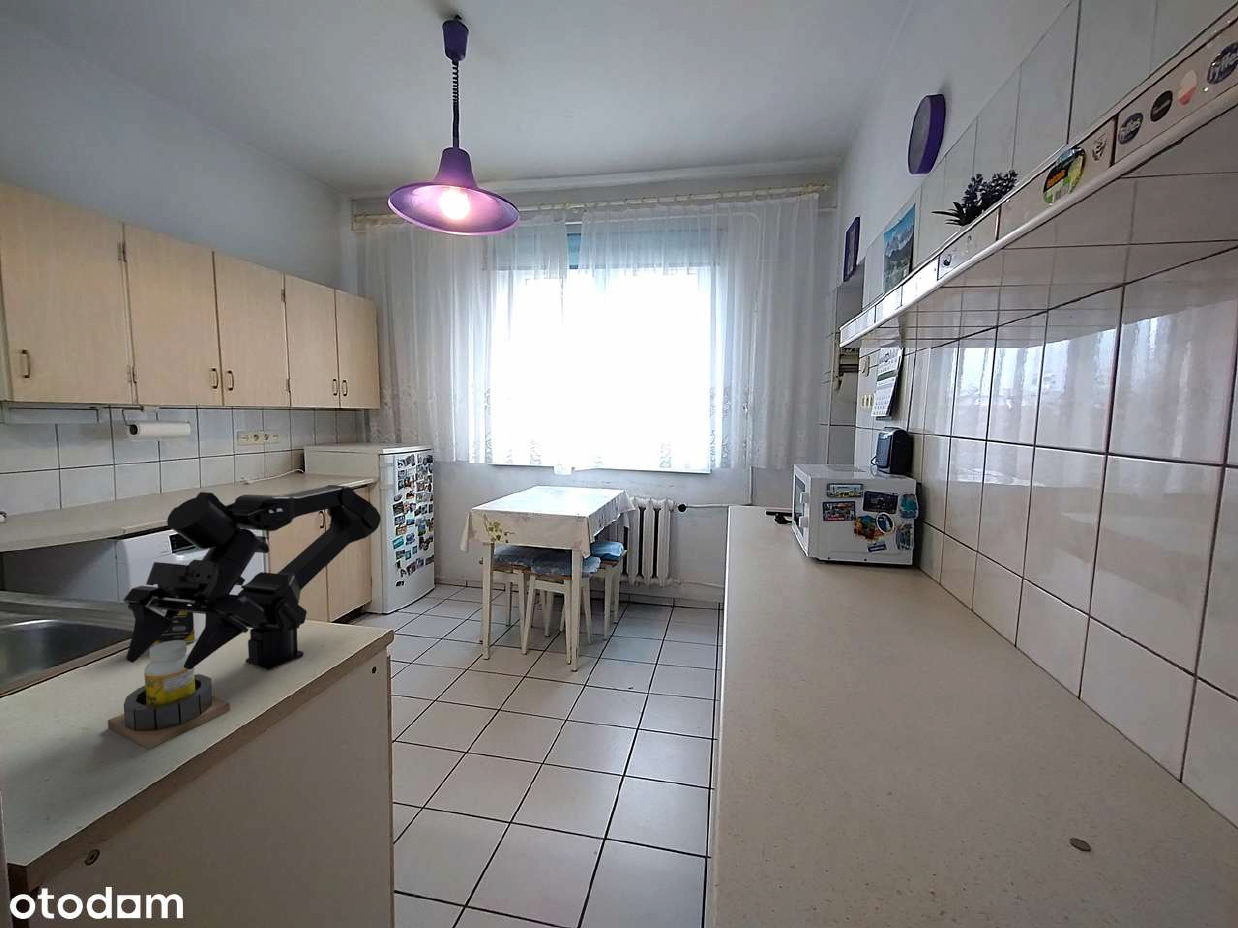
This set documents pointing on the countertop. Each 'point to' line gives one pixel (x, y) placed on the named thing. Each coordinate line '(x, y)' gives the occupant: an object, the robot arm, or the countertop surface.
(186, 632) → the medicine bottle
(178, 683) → the supplement bottle
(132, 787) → the countertop surface
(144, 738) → the socket holder
